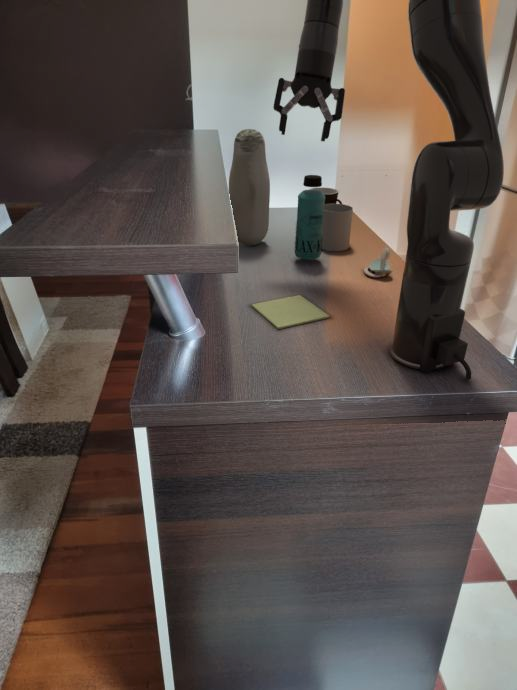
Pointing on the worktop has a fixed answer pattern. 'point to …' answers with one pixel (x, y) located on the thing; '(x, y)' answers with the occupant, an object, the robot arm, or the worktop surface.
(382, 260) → the pacifier
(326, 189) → the coffee mug
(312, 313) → the pad
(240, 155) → the grey rounded tall figure
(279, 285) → the worktop surface
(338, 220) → the cup
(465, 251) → the robot arm
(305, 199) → the beverage bottle
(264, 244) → the worktop surface
